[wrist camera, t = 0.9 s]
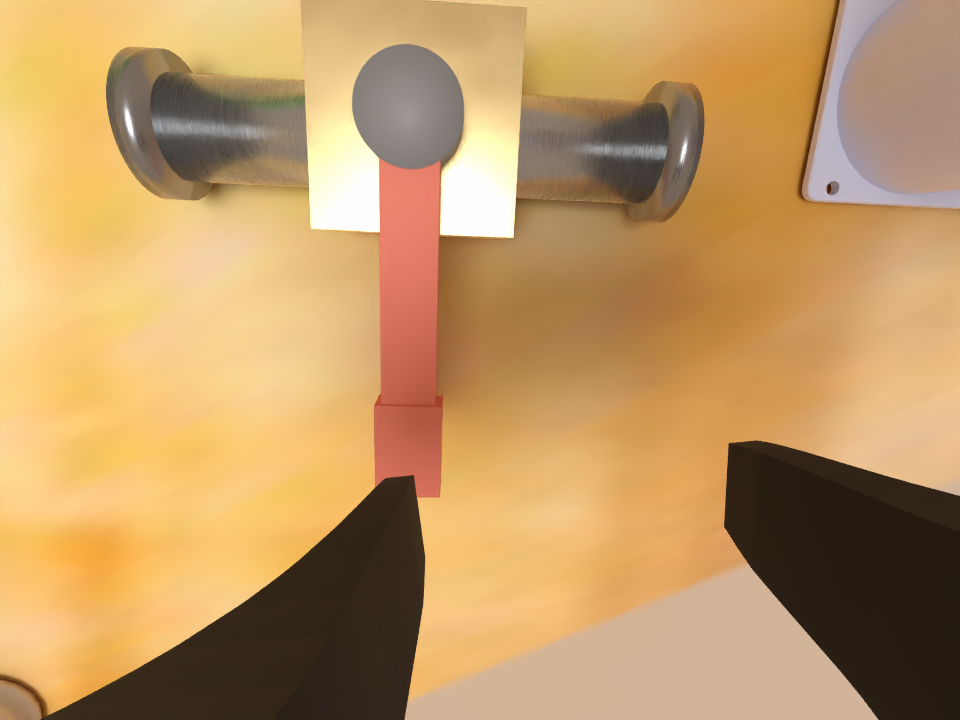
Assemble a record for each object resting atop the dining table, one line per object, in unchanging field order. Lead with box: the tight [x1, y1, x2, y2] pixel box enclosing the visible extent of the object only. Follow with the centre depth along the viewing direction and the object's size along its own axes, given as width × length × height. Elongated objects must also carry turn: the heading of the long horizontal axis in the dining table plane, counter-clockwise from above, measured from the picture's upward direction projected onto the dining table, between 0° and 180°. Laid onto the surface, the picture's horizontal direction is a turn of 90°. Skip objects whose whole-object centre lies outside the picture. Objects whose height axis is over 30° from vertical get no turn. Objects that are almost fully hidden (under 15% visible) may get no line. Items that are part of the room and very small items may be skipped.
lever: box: [352, 44, 464, 497], centre depth 13 cm, size 12×3×1 cm, turn 177°
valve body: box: [106, 0, 704, 239], centre depth 15 cm, size 17×6×5 cm, turn 87°
